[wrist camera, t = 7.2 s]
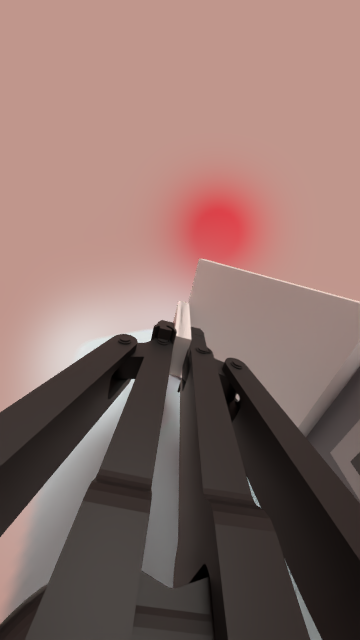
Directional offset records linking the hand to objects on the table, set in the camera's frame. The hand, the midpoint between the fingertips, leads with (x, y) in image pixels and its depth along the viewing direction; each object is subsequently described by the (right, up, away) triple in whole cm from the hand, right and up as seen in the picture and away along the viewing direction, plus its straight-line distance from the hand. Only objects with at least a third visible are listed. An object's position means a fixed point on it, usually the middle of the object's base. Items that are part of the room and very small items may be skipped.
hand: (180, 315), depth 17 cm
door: (+5, -8, +1) cm, 9 cm away
